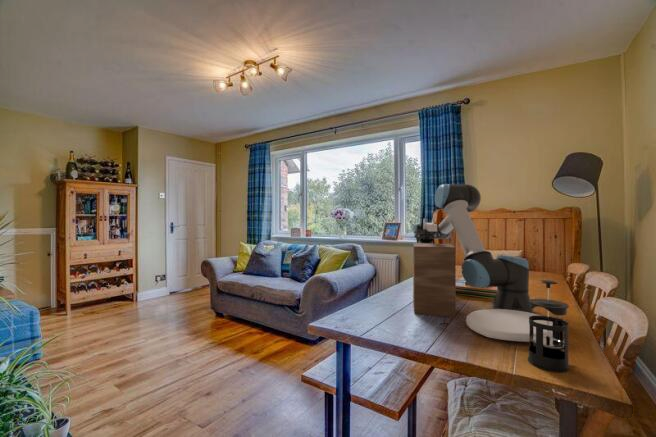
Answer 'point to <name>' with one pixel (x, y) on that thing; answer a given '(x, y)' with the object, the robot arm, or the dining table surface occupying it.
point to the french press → (548, 347)
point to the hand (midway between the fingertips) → (428, 220)
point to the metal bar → (431, 227)
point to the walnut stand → (434, 279)
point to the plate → (504, 324)
